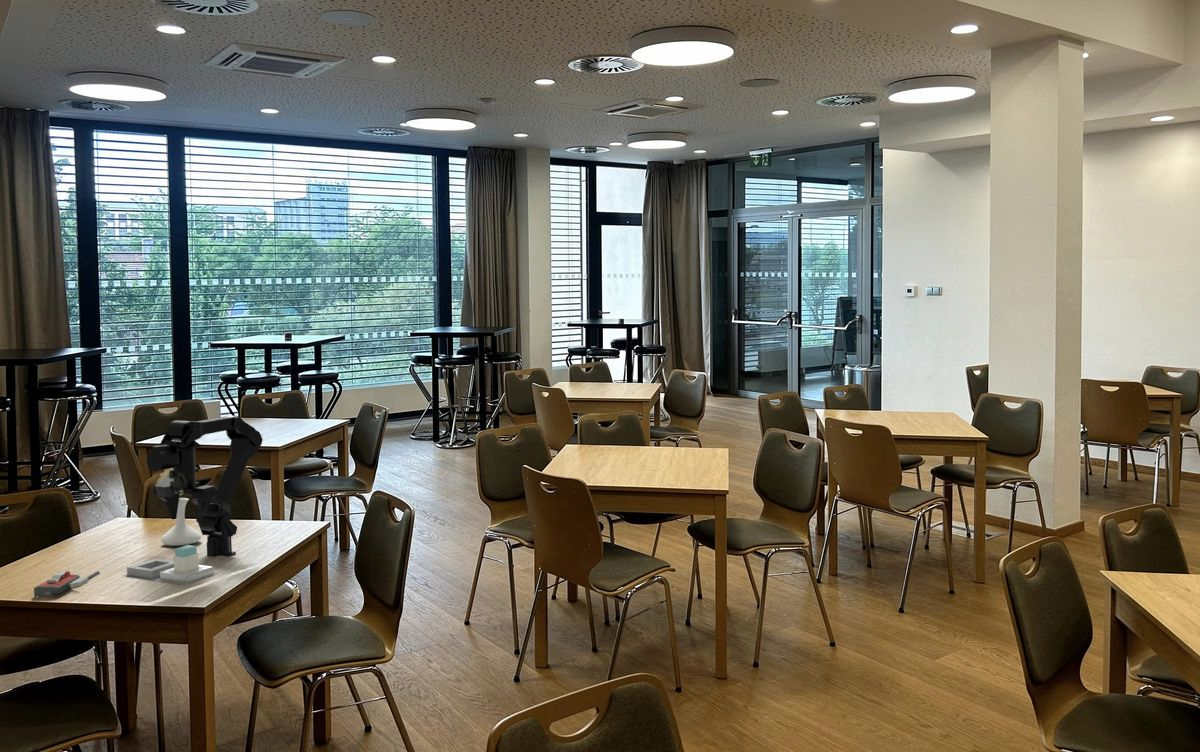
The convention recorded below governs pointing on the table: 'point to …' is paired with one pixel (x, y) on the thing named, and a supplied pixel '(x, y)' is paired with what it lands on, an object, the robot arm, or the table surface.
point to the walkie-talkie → (60, 584)
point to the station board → (163, 580)
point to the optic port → (186, 574)
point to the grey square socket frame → (150, 568)
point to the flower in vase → (179, 524)
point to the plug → (186, 559)
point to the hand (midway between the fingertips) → (186, 520)
